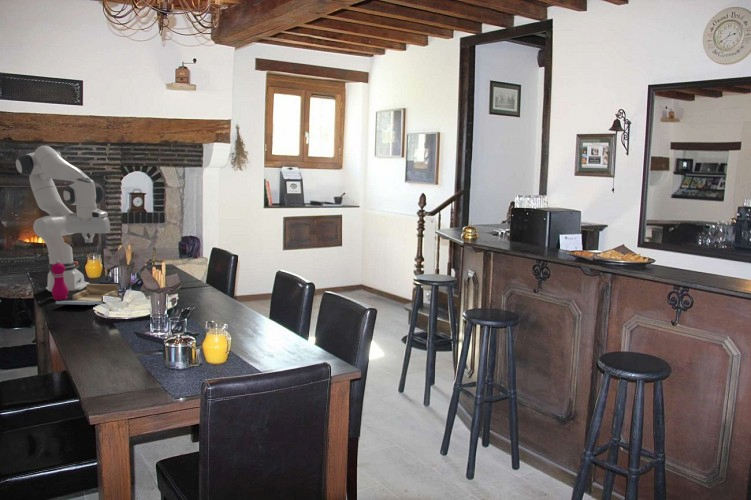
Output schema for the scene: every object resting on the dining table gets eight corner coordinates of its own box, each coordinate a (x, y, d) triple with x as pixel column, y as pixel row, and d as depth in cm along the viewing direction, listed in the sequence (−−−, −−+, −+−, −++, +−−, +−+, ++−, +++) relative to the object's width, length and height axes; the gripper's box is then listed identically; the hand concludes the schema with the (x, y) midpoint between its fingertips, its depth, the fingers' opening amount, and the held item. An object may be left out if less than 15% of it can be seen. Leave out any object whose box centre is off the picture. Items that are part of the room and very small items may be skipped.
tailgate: (72, 300, 309) (55, 301, 295) (104, 301, 307) (88, 302, 294) (71, 303, 309) (55, 303, 295) (104, 304, 307) (88, 304, 294)
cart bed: (88, 297, 323) (87, 283, 322) (118, 298, 322) (117, 284, 320) (73, 304, 309) (72, 290, 308) (104, 305, 308) (103, 290, 307)
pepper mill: (72, 299, 319) (69, 259, 316) (63, 303, 312) (60, 261, 309) (57, 299, 320) (54, 258, 317) (49, 302, 313) (45, 261, 310)
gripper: (62, 213, 304) (64, 243, 306) (104, 214, 302) (106, 243, 304) (69, 212, 310) (71, 241, 312) (110, 212, 308) (112, 241, 310)
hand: (89, 242), depth 308 cm, fingers closed
